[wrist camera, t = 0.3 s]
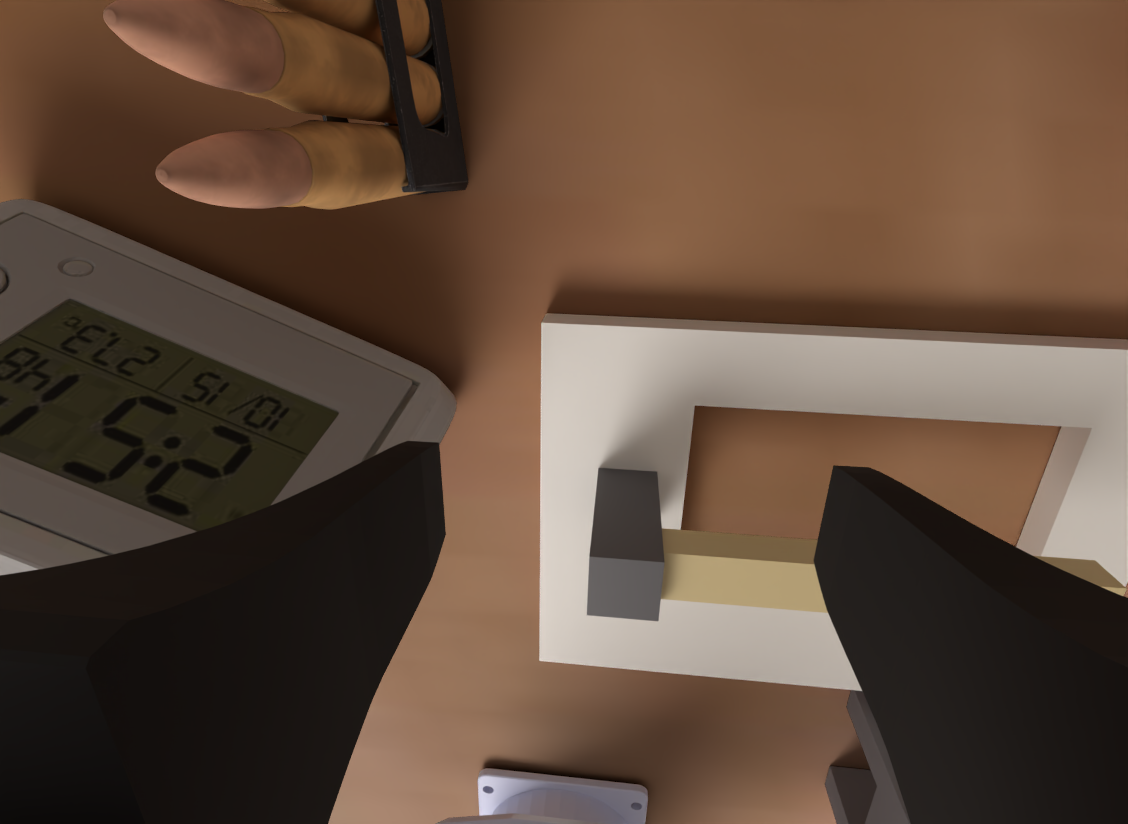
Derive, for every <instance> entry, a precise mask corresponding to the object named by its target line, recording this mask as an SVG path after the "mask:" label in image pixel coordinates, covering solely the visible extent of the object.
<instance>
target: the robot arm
mask: <svg viewBox="0 0 1128 824" xmlns="http://www.w3.org/2000/svg"><path fill="white" fill-rule="evenodd" d="M445 535H446V532H445V519H444V505H443V491H442V477H441V464H440V450H439V443H438V442H421V441H406V442H403V443H400V444H397V445H395V446H393V447H391V448H389V449H387V450H385V451H382V452H380V453H378V454H377V455H375V456H373V457H371V458H369V459H367V460H365V461H363V462H361V463H359V464H357V465H355V466H353V467H351V468H349V469H347V470H345V471H343V472H341V473H340V474H338V475H336V476H334V477H332V478H330V479H328V480H326V481H323V482H321V483H319V484H317V485H315V486H313V487H310V488H308V489H306V490H304V491H302V492H300V493H298V494H295V495H293V496H291V497H289V498H287V499H285V500H283V501H280V502H278V503H275V504H273V505H271V506H268V507H266V508H263V509H261V510H258V511H256V512H253V513H251V514H248V515H245V516H242V517H240V518H237V519H234V520H231V521H229V522H226V523H223V524H220V525H217V526H214V527H211V528H208V529H204V530H201V531H198V532H194V533H191V534H187V535H184V536H181V537H177V538H174V539H170V540H167V541H163V542H160V543H157V544H153V545H150V546H146V547H142V548H138V549H134V550H130V551H125V552H121V553H117V554H113V555H109V556H104V557H99V558H94V559H90V560H85V561H80V562H75V563H71V564H65V565H60V566H55V567H50V568H44V569H38V570H32V571H25V572H19V573H13V574H6V575H0V824H328V822H329V819H330V816H331V813H332V810H333V807H334V804H335V801H336V798H337V795H338V793H339V790H340V787H341V784H342V781H343V778H344V775H345V773H346V770H347V767H348V764H349V761H350V758H351V755H352V753H353V750H354V747H355V745H356V742H357V739H358V737H359V734H360V731H361V728H362V726H363V723H364V720H365V718H366V715H367V712H368V710H369V707H370V704H371V702H372V699H373V697H374V695H375V693H376V690H377V688H378V686H379V684H380V681H381V679H382V677H383V675H384V673H385V671H386V669H387V667H388V665H389V663H390V661H391V659H392V657H393V655H394V653H395V651H396V649H397V647H398V645H399V643H400V641H401V639H402V637H403V635H404V633H405V631H406V629H407V627H408V625H409V623H410V621H411V619H412V617H413V615H414V613H415V611H416V609H417V607H418V605H419V603H420V601H421V599H422V597H423V595H424V593H425V591H426V589H427V586H428V584H429V582H430V580H431V578H432V575H433V572H434V569H435V566H436V563H437V560H438V557H439V554H440V551H441V548H442V545H443V541H444V538H445ZM813 561H814V565H815V569H816V573H817V577H818V581H819V585H820V588H821V592H822V595H823V599H824V602H825V606H826V609H827V611H828V614H829V616H830V619H831V621H832V623H833V626H834V628H835V630H836V633H837V635H838V637H839V640H840V642H841V644H842V647H843V649H844V651H845V653H846V656H847V658H848V660H849V662H850V665H851V667H852V669H853V671H854V674H855V676H856V678H857V680H858V683H859V685H860V687H861V689H862V692H863V694H864V696H865V698H866V701H867V703H868V705H869V707H870V710H871V712H872V714H873V716H874V719H875V721H876V723H877V726H878V728H879V731H880V733H881V736H882V739H883V741H884V744H885V746H886V749H887V751H888V754H889V758H890V761H891V764H892V767H893V770H894V773H895V776H896V779H897V782H898V786H899V789H900V792H901V795H902V798H903V801H904V804H905V807H906V810H907V814H908V817H909V820H910V824H1128V598H1126V597H1124V596H1121V595H1119V594H1116V593H1114V592H1112V591H1109V590H1107V589H1105V588H1102V587H1100V586H1098V585H1096V584H1093V583H1091V582H1089V581H1087V580H1084V579H1082V578H1080V577H1077V576H1075V575H1073V574H1071V573H1068V572H1066V571H1064V570H1062V569H1059V568H1057V567H1055V566H1053V565H1051V564H1049V563H1047V562H1045V561H1043V560H1040V559H1038V558H1036V557H1034V556H1032V555H1030V554H1028V553H1027V552H1025V551H1023V550H1021V549H1019V548H1017V547H1015V546H1013V545H1011V544H1009V543H1007V542H1005V541H1003V540H1001V539H999V538H997V537H995V536H994V535H992V534H990V533H988V532H986V531H984V530H983V529H981V528H979V527H977V526H975V525H973V524H972V523H970V522H968V521H966V520H965V519H963V518H961V517H959V516H958V515H956V514H954V513H952V512H951V511H949V510H947V509H945V508H944V507H942V506H940V505H938V504H937V503H935V502H933V501H931V500H930V499H928V498H926V497H925V496H923V495H921V494H919V493H918V492H916V491H914V490H912V489H911V488H909V487H907V486H905V485H904V484H902V483H900V482H898V481H896V480H894V479H893V478H891V477H889V476H887V475H885V474H883V473H881V472H879V471H876V470H874V469H872V468H868V467H851V466H833V470H832V475H831V480H830V484H829V489H828V494H827V499H826V503H825V508H824V513H823V518H822V522H821V527H820V532H819V537H818V541H817V546H816V551H815V556H814V560H813ZM478 797H479V816H467V817H453V818H447V819H445V820H443V821H441V822H438V823H436V824H645V822H646V813H647V804H648V791H647V789H646V788H645V787H643V786H642V785H638V784H629V783H620V782H611V781H602V780H593V779H584V778H574V777H565V776H556V775H547V774H538V773H528V772H519V771H510V770H501V769H492V768H485V769H483V770H481V771H480V773H479V777H478Z"/></svg>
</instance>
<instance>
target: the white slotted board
mask: <svg viewBox="0 0 1128 824" xmlns="http://www.w3.org/2000/svg"><path fill="white" fill-rule="evenodd" d="M695 406H713V407H730V408H748V409H765V410H783V411H801V412H818V413H836V414H854V415H871V416H889V417H906V418H924V419H942V420H959V421H977V422H995V423H1012V424H1030V425H1047V426H1061V429H1060V432H1059V434H1058V437H1057V440H1056V442H1055V445H1054V448H1053V450H1052V453H1051V456H1050V458H1049V461H1048V464H1047V466H1046V469H1045V471H1044V474H1043V477H1042V479H1041V482H1040V485H1039V487H1038V490H1037V493H1036V495H1035V498H1034V501H1033V503H1032V506H1031V509H1030V511H1029V514H1028V517H1027V519H1026V522H1025V524H1024V527H1023V530H1022V532H1021V535H1020V538H1019V540H1018V543H1017V546H1016V547H1017V548H1019V549H1021V550H1023V551H1025V552H1027V553H1028V554H1030V555H1032V556H1034V557H1036V558H1038V559H1040V560H1043V561H1045V562H1047V563H1049V564H1051V565H1053V566H1055V567H1057V568H1059V569H1062V570H1064V571H1066V572H1068V573H1071V574H1073V575H1075V576H1077V577H1080V578H1082V579H1084V580H1087V581H1089V582H1091V583H1093V584H1096V585H1098V586H1100V587H1102V588H1105V589H1107V590H1109V591H1112V592H1114V593H1116V594H1119V595H1121V596H1124V593H1125V591H1126V589H1127V588H1126V587H1125V586H1126V584H1127V582H1128V339H1106V338H1084V337H1062V336H1040V335H1017V334H995V333H973V332H951V331H929V330H907V329H884V328H862V327H840V326H818V325H796V324H774V323H752V322H729V321H707V320H685V319H663V318H641V317H619V316H597V315H574V314H552V313H546V315H545V317H544V319H543V321H542V322H541V479H540V656H539V661H546V662H557V663H567V664H578V665H589V666H599V667H610V668H621V669H632V670H642V671H653V672H664V673H675V674H685V675H696V676H707V677H717V678H728V679H739V680H750V681H760V682H771V683H782V684H792V685H803V686H814V687H825V688H835V689H846V690H857V691H862V689H861V687H860V685H859V683H858V680H857V678H856V676H855V674H854V671H853V669H852V667H851V665H850V662H849V660H848V658H847V656H846V653H845V651H844V649H843V647H842V644H841V642H840V640H839V637H838V635H837V633H836V630H835V628H834V626H833V623H832V621H831V619H830V616H829V614H828V611H827V609H826V606H825V602H824V599H823V595H822V592H821V588H820V585H819V581H818V577H817V573H816V569H815V565H814V561H813V560H814V556H815V551H816V546H817V541H818V540H813V539H800V538H786V537H772V536H759V535H745V534H732V533H718V532H705V531H691V530H681V522H682V514H683V505H684V496H685V487H686V478H687V470H688V461H689V452H690V443H691V435H692V426H693V417H694V408H695Z"/></svg>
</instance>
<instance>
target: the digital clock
mask: <svg viewBox="0 0 1128 824" xmlns="http://www.w3.org/2000/svg"><path fill="white" fill-rule="evenodd" d="M456 404H457V402H456V399H455V396H454V395H453V393H452V392H451V391H450V390H449V389H448V388H447V387H446V386H445V385H444V383H443V382H442V381H441V380H440V379H439V378H438V377H437V376H436V375H435V374H433V373H432V372H430V371H429V370H427V369H425V368H423V367H421V366H419V365H417V364H415V363H413V362H411V361H409V360H406V359H404V358H402V357H400V356H398V355H396V354H393V353H391V352H389V351H387V350H384V349H382V348H380V347H378V346H375V345H373V344H371V343H369V342H366V341H364V340H362V339H359V338H357V337H355V336H352V335H350V334H348V333H346V332H343V331H341V330H339V329H336V328H334V327H332V326H329V325H327V324H325V323H322V322H320V321H318V320H316V319H313V318H311V317H309V316H306V315H304V314H302V313H299V312H297V311H295V310H293V309H290V308H288V307H286V306H283V305H281V304H279V303H276V302H274V301H272V300H269V299H267V298H265V297H263V296H260V295H258V294H256V293H253V292H251V291H249V290H246V289H244V288H242V287H239V286H237V285H235V284H233V283H230V282H228V281H226V280H223V279H221V278H219V277H216V276H214V275H212V274H209V273H207V272H205V271H203V270H200V269H198V268H196V267H193V266H191V265H189V264H186V263H184V262H182V261H179V260H177V259H175V258H173V257H170V256H168V255H166V254H163V253H161V252H159V251H156V250H154V249H152V248H149V247H147V246H145V245H143V244H140V243H138V242H136V241H133V240H131V239H129V238H126V237H124V236H122V235H119V234H117V233H115V232H112V231H110V230H108V229H105V228H103V227H101V226H98V225H96V224H94V223H91V222H89V221H87V220H84V219H82V218H79V217H77V216H75V215H72V214H70V213H67V212H65V211H62V210H60V209H57V208H55V207H52V206H50V205H47V204H44V203H41V202H37V201H33V200H27V199H17V200H10V201H6V202H2V203H0V575H6V574H13V573H19V572H25V571H32V570H38V569H44V568H50V567H55V566H60V565H65V564H71V563H75V562H80V561H85V560H90V559H94V558H99V557H104V556H109V555H113V554H117V553H121V552H125V551H130V550H134V549H138V548H142V547H146V546H150V545H153V544H157V543H160V542H163V541H167V540H170V539H174V538H177V537H181V536H184V535H187V534H191V533H194V532H198V531H201V530H204V529H208V528H211V527H214V526H217V525H220V524H223V523H226V522H229V521H231V520H234V519H237V518H240V517H242V516H245V515H248V514H251V513H253V512H256V511H258V510H261V509H263V508H266V507H268V506H271V505H273V504H275V503H278V502H280V501H283V500H285V499H287V498H289V497H291V496H293V495H295V494H298V493H300V492H302V491H304V490H306V489H308V488H310V487H313V486H315V485H317V484H319V483H321V482H323V481H326V480H328V479H330V478H332V477H334V476H336V475H338V474H340V473H341V472H343V471H345V470H347V469H349V468H351V467H353V466H355V465H357V464H359V463H361V462H363V461H365V460H367V459H369V458H371V457H373V456H375V455H377V454H378V453H380V452H382V451H385V450H387V449H389V448H391V447H393V446H395V445H397V444H400V443H403V442H406V441H421V442H438V443H439V444H440V443H441V441H442V439H443V437H444V435H445V433H446V432H447V430H448V428H449V426H450V423H451V421H452V419H453V417H454V414H455V411H456Z"/></svg>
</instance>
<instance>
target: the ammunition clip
mask: <svg viewBox="0 0 1128 824" xmlns="http://www.w3.org/2000/svg"><path fill="white" fill-rule="evenodd" d="M263 1H265V2H267V3H269V4H271V5H274V6H276V7H279V8H281V9H283V10H286V11H288V12H268V11H264V10H261V9H257V8H253V7H247V6H240V5H237V4H234V3H231V2H228V1H225V0H117V1H115V2H113V3H111V4H109V5H108V6H107V7H106V8H105V9H104V12H103V18H104V21H105V22H106V24H107V25H108V27H109V28H110V29H111V30H112V31H113V32H114V33H115V34H116V35H117V36H118V37H119V38H121V39H122V40H123V41H124V42H125V43H126V44H127V45H129V46H130V47H132V48H133V49H134V50H136V51H137V52H139V53H140V54H142V55H144V56H146V57H147V58H149V59H151V60H152V61H154V62H156V63H158V64H160V65H162V66H164V67H166V68H168V69H170V70H173V71H175V72H177V73H179V74H181V75H183V76H186V77H188V78H191V79H194V80H197V81H199V82H202V83H205V84H208V85H212V86H215V87H218V88H224V89H229V90H235V91H241V92H243V93H245V94H247V95H251V96H255V97H260V98H264V99H269V100H271V101H273V102H275V103H277V104H279V105H281V106H283V107H285V108H287V109H289V110H292V111H295V112H300V113H308V114H317V115H322V116H323V120H324V121H318V120H309V121H306V122H303V123H300V124H297V125H294V126H291V127H288V128H268V129H265V130H238V131H231V132H225V133H219V134H215V135H211V136H208V137H205V138H202V139H199V140H196V141H194V142H191V143H188V144H186V145H184V146H182V147H180V148H178V149H176V150H174V151H173V152H171V153H170V154H169V155H167V156H166V157H165V158H164V160H163V161H162V162H161V163H160V164H159V165H158V167H157V168H156V177H157V179H158V181H159V182H160V183H161V184H163V185H164V186H165V187H167V188H169V189H170V190H172V191H174V192H176V193H178V194H180V195H182V196H185V197H187V198H190V199H193V200H196V201H200V202H204V203H208V204H212V205H218V206H225V207H235V208H259V209H264V208H272V207H279V206H283V207H297V206H307V207H311V208H318V209H329V210H330V209H338V208H343V207H349V206H354V205H359V204H364V203H369V202H374V201H380V200H385V199H390V198H395V197H400V196H405V195H418V194H428V193H438V192H447V191H457V190H465V189H466V187H467V185H468V177H467V170H466V164H465V157H464V150H463V143H462V137H461V130H460V123H459V117H458V110H457V103H456V96H455V90H454V83H453V76H452V69H451V63H450V56H449V49H448V43H447V36H446V29H445V22H444V16H443V9H442V2H441V0H263ZM289 12H291V13H289ZM347 118H351V119H359V120H367V121H376V122H384V123H385V125H372V124H359V123H349V122H348V119H347Z"/></svg>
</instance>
